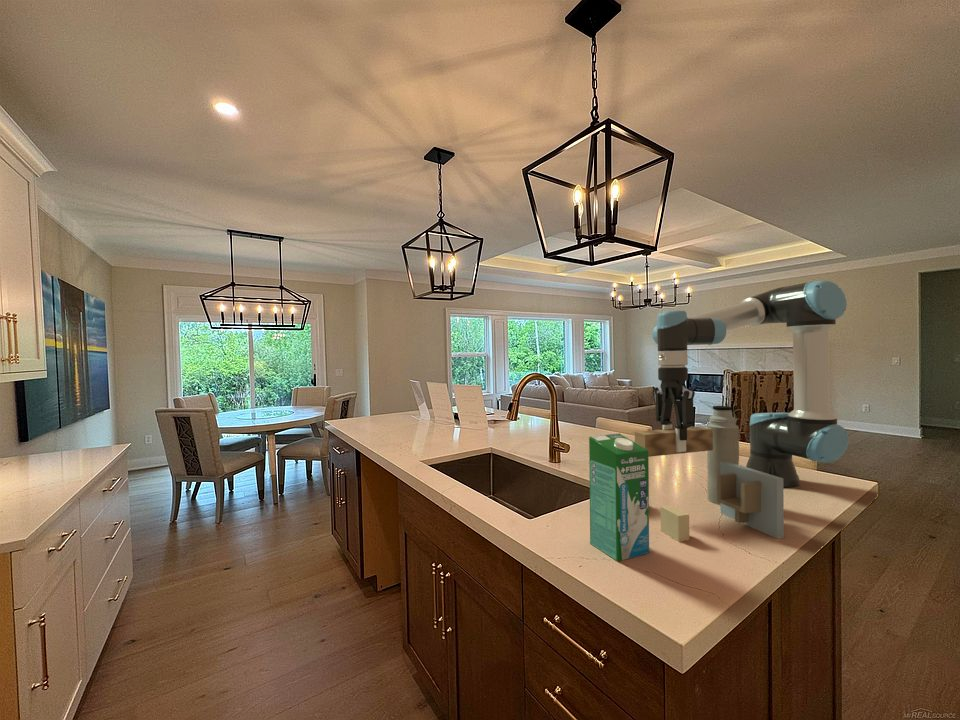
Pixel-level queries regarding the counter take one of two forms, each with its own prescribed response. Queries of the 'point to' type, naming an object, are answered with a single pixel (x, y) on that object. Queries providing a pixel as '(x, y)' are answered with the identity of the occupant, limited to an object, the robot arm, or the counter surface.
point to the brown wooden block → (674, 441)
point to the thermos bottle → (721, 446)
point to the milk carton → (619, 496)
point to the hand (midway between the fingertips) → (674, 449)
